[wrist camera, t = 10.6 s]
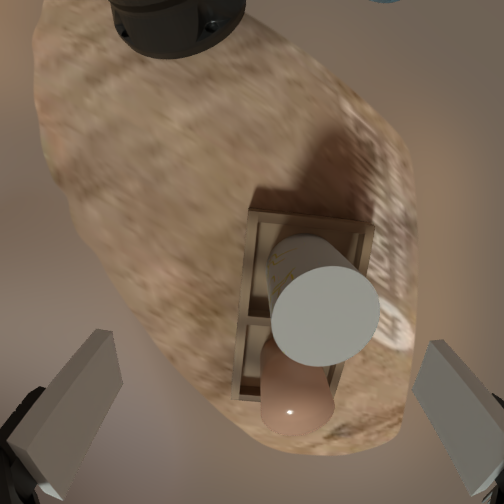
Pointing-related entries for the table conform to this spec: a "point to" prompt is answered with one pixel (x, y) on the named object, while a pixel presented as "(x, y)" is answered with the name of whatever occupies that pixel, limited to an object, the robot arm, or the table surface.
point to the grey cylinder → (318, 302)
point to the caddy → (256, 294)
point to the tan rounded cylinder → (292, 393)
